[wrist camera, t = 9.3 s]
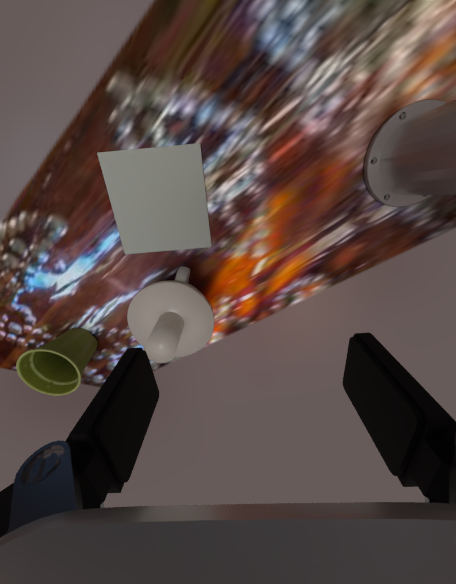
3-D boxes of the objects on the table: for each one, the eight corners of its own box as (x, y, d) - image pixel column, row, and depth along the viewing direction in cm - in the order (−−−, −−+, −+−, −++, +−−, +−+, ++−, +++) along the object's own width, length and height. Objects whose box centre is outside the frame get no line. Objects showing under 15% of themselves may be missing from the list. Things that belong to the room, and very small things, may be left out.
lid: (209, 277, 29) (205, 299, 23) (218, 349, 34) (216, 385, 27) (120, 284, 29) (90, 309, 23) (141, 355, 34) (122, 392, 28)
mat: (200, 143, 30) (199, 143, 29) (211, 246, 35) (211, 246, 35) (98, 153, 30) (97, 152, 30) (126, 253, 36) (125, 254, 35)
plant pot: (53, 315, 40) (11, 345, 32) (106, 324, 41) (78, 355, 33) (58, 355, 44) (21, 391, 36) (107, 362, 44) (81, 399, 36)
